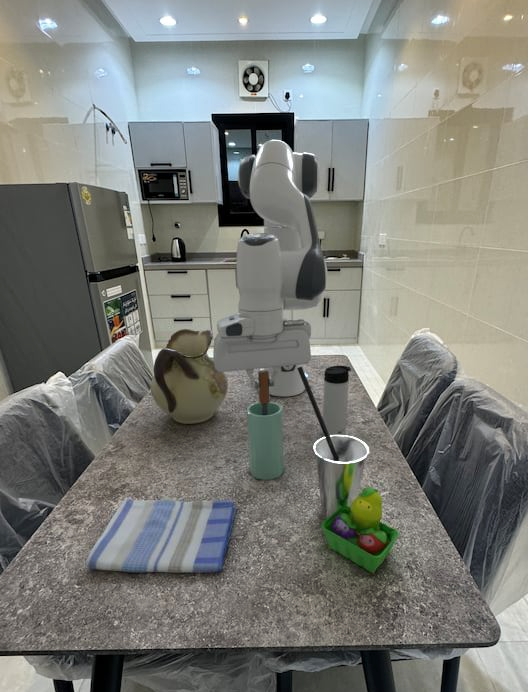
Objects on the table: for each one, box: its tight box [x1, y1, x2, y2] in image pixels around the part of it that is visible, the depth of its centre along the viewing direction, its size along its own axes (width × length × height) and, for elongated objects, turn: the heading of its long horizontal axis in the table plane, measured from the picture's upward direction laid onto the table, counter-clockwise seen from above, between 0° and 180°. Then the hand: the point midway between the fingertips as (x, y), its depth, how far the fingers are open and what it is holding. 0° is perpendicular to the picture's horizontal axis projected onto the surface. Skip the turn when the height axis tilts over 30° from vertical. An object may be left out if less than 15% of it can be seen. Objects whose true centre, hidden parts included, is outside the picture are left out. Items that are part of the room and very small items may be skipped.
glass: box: [297, 367, 370, 521], centre depth 70 cm, size 11×11×30 cm
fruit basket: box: [320, 486, 400, 574], centre depth 65 cm, size 11×9×11 cm
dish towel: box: [85, 498, 238, 574], centre depth 70 cm, size 17×24×3 cm
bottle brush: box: [257, 370, 271, 415], centre depth 85 cm, size 4×4×21 cm
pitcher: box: [150, 328, 229, 425], centre depth 113 cm, size 22×24×25 cm
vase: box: [246, 401, 284, 481], centre depth 87 cm, size 8×8×16 cm
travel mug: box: [321, 365, 352, 438], centre depth 101 cm, size 6×7×20 cm
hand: (263, 386), depth 82 cm, fingers closed on bottle brush, 2 cm apart
